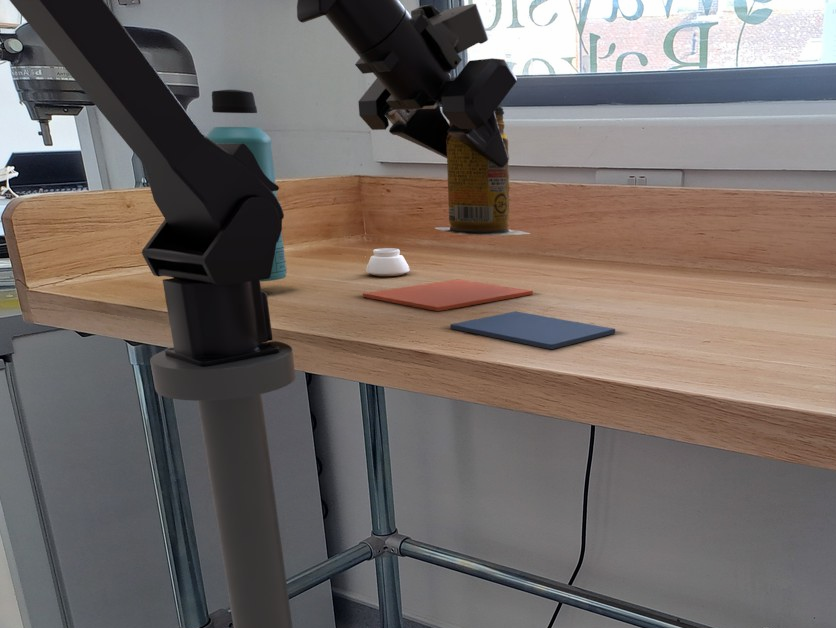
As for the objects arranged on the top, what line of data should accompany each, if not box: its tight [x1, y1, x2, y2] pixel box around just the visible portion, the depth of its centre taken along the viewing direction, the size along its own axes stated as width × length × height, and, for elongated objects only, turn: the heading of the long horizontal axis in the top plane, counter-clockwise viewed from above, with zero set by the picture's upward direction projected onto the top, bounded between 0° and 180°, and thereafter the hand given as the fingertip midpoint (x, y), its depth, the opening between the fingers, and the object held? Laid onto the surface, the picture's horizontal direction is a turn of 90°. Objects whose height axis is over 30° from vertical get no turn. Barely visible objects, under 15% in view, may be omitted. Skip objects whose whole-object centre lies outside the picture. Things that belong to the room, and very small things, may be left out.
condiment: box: [434, 105, 532, 237], centre depth 84 cm, size 7×8×12 cm
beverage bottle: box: [205, 89, 287, 283], centre depth 88 cm, size 6×7×20 cm
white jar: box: [365, 247, 410, 277], centre depth 103 cm, size 5×3×5 cm
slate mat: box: [450, 311, 616, 350], centre depth 73 cm, size 8×12×1 cm, turn 50°
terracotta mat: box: [362, 278, 534, 312], centre depth 90 cm, size 13×12×1 cm
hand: (485, 163), depth 85 cm, fingers closed on condiment, 6 cm apart
